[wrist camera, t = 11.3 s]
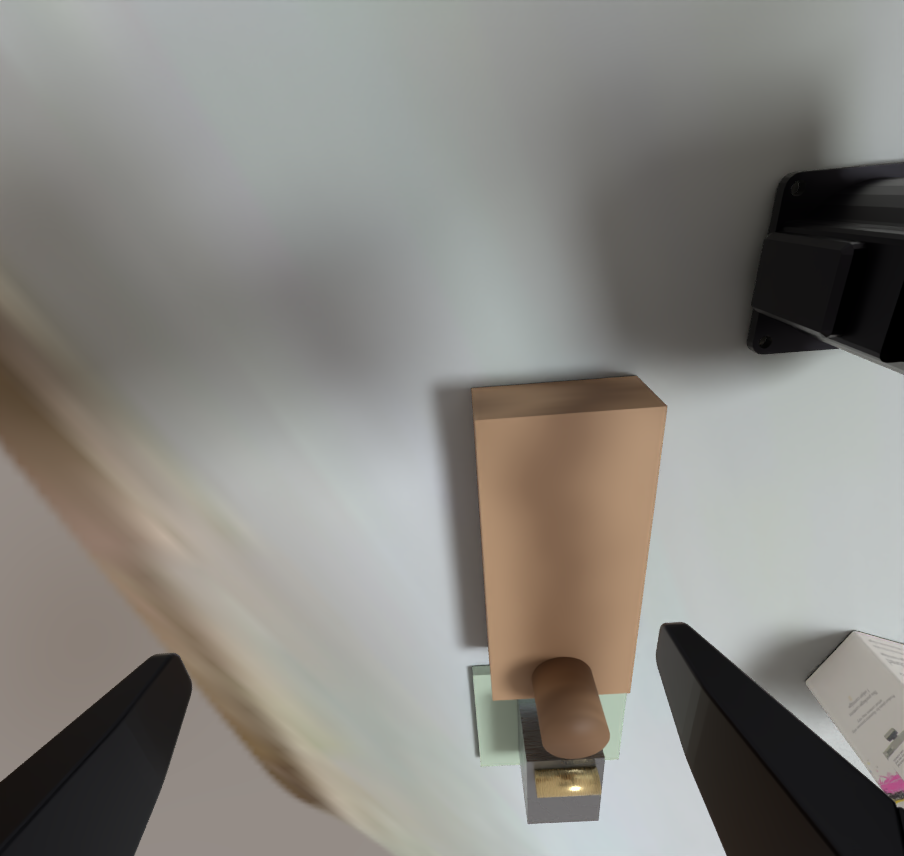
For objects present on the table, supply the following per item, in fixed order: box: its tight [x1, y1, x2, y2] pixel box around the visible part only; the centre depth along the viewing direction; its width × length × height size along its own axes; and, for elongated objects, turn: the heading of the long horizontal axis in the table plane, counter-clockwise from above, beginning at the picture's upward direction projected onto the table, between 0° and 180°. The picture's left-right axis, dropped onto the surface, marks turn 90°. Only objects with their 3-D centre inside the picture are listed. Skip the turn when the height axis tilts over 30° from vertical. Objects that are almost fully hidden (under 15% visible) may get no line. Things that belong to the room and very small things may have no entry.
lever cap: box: [517, 698, 605, 824], centre depth 27 cm, size 4×6×5 cm, turn 4°
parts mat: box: [472, 665, 627, 767], centre depth 30 cm, size 9×9×1 cm
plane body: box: [471, 376, 667, 759], centre depth 21 cm, size 7×16×6 cm, turn 4°
